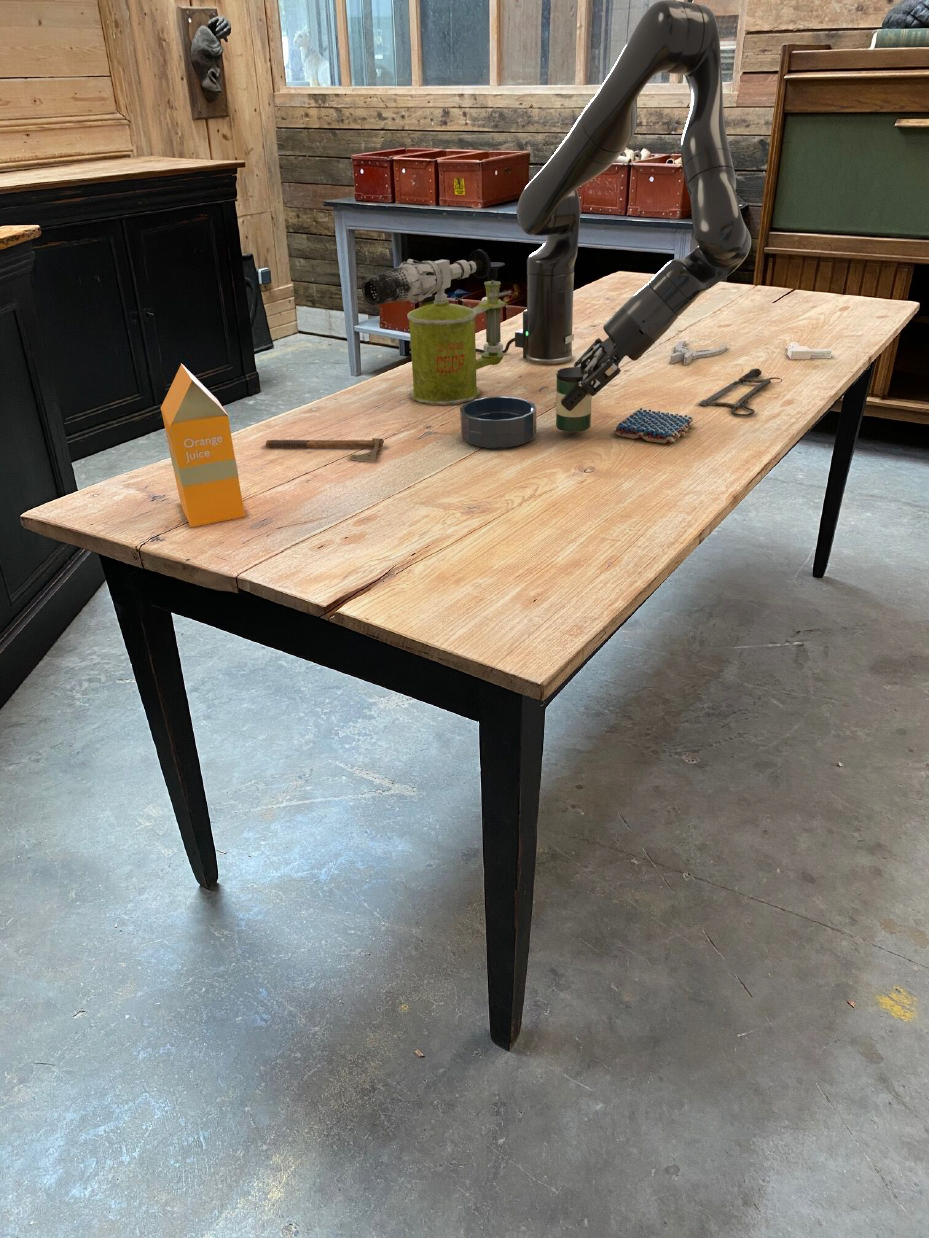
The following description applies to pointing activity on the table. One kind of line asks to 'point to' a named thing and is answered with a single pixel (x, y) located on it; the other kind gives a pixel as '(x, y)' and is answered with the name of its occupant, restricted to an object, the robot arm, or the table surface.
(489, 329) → the blowtorch
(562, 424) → the green tin
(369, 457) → the tomahawk
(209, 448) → the orange juice
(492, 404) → the slate bowl
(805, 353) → the corner connector
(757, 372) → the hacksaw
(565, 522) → the table surface
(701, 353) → the pliers
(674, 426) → the woven mat
